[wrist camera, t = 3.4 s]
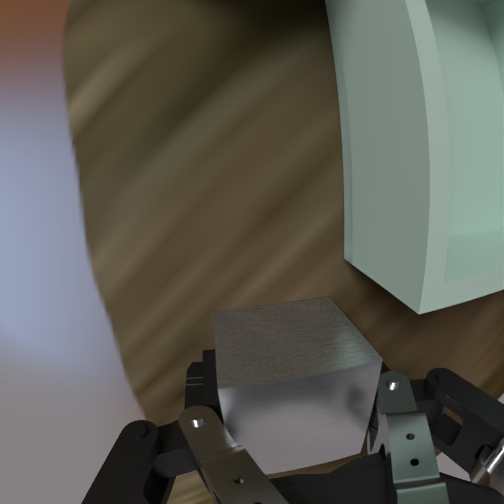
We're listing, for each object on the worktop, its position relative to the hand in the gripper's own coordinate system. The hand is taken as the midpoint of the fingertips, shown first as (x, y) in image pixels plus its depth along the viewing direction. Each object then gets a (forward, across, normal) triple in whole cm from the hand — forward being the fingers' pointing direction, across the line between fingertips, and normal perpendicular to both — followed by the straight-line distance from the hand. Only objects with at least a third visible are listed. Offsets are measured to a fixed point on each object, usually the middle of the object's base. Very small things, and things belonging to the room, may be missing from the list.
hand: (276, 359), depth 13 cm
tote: (0, -9, -12) cm, 15 cm away
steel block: (0, 0, 0) cm, 0 cm away
